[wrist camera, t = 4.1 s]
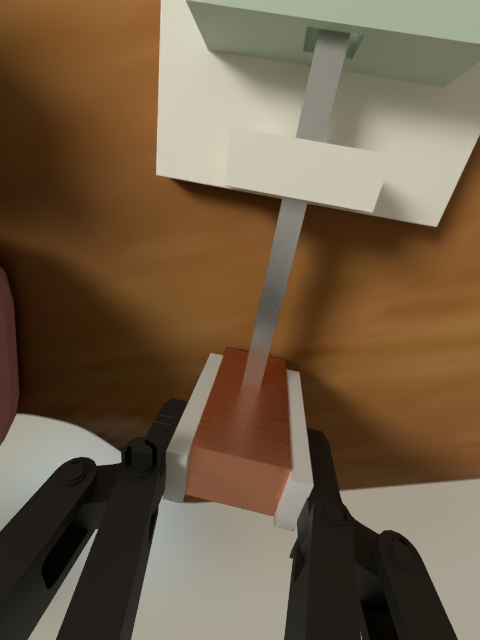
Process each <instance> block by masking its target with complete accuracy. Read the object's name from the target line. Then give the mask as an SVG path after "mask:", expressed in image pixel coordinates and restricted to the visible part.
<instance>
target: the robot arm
mask: <svg viewBox="0 0 480 640" xmlns="http://www.w3.org/2000/svg"><path fill="white" fill-rule="evenodd" d="M222 358H223V356H222V355H218V354H213V353H210V356H209V358H208V360H207V362H206V364H205V367H204V369H203V371H202V373H201V375H200V378H199V380H198V382H197V384H196V386H195V389H194V391H193V393H192V395H191V398H190V400H189V402H186V401H181V400H177V399H171V400H169V401H168V402H167V403H165V404H164V405H163V407H162V409H161V410H160V412H159V414H158V416H157V417H156V419H155V421H154V423H153V424H152V426H151V428H150V430H149V431H148V433H147V435H146V437H138V438H136V439H133V440H131V441H130V442H129V443H127V444H126V445H125V446H124V448H123V449H122V451H121V455H122V456H121V458H122V462H121V463H118V464H113V465H101V466H96V464H95V462H94V461H93V460H92V459H90V458H86V457H79V458H74V459H71V460H69V461H67V462H65V463H64V464H62V465H61V466H60V467H59V468H58V469H57V470H56V471H55V472H54V473H53V474H52V475H51V476H50V477H49V479H48V480H47V481H46V482H45V483H44V484H43V485H42V486H41V488H39V490H38V491H37V492H36V493H35V494H34V495H33V496H32V497H31V498H30V499H29V501H28V502H27V503H26V504H25V505H24V506H23V507H22V508H21V509H20V511H19V512H18V513H17V514H16V515H15V516H14V517H13V518H12V519H11V521H10V522H9V523H8V524H7V525H6V526H5V527H4V528H3V529H2V530H1V531H0V640H28V638H29V636H30V635H31V633H32V631H33V630H34V628H35V626H36V625H37V623H38V622H39V620H40V618H41V617H42V615H43V614H44V612H45V610H46V609H47V607H48V606H49V604H50V602H51V600H52V599H53V597H54V596H55V594H56V593H57V591H58V589H59V588H60V586H61V584H62V583H63V581H64V579H65V578H66V576H67V575H68V573H69V571H70V570H71V568H72V567H73V565H74V563H75V562H76V560H77V559H78V557H79V555H80V554H81V552H82V550H83V549H84V547H85V546H86V544H87V542H88V540H89V539H90V537H91V536H92V534H93V533H94V531H95V529H98V531H97V534H96V536H95V539H94V542H93V544H92V547H91V550H90V552H89V555H88V557H87V560H86V563H85V565H84V568H83V570H82V573H81V576H80V578H79V581H78V583H77V586H76V589H75V591H74V594H73V597H72V599H71V602H70V604H69V607H68V609H67V612H66V615H65V617H64V620H63V622H62V625H61V628H60V630H59V633H58V636H57V638H56V640H131V637H132V632H133V627H134V622H135V618H136V613H137V609H138V604H139V599H140V595H141V590H142V585H143V581H144V576H145V571H146V567H147V562H148V557H149V553H150V548H151V543H152V539H153V534H154V529H155V525H156V520H157V515H158V505H159V503H160V500H161V498H162V495H163V493H164V496H163V499H166V500H170V501H174V502H178V503H182V502H183V499H184V496H185V491H186V482H187V473H188V465H189V456H190V448H191V444H192V441H193V438H194V435H195V433H196V430H197V427H198V424H199V422H200V419H201V416H202V413H203V411H204V408H205V405H206V402H207V400H208V397H209V394H210V391H211V389H212V386H213V383H214V380H215V378H216V375H217V372H218V369H219V366H220V364H221V361H222ZM287 387H288V406H289V425H290V444H291V464H292V471H291V472H290V475H289V477H288V480H287V483H286V485H285V488H284V491H283V493H282V496H281V499H280V501H279V504H278V507H277V509H276V512H275V515H274V526H276V527H279V528H283V529H287V530H291V531H294V529H295V527H296V524H297V530H298V538H297V540H296V542H295V544H294V547H293V548H292V551H291V554H290V558H293V565H292V574H291V583H290V591H289V600H288V610H287V619H286V628H285V637H284V640H361V636H362V640H458V639H457V637H456V634H455V632H454V630H453V628H452V625H451V623H450V621H449V619H448V617H447V614H446V612H445V610H444V607H443V606H442V603H441V601H440V599H439V596H438V594H437V592H436V590H435V587H434V585H433V583H432V581H431V578H430V576H429V574H428V572H427V570H426V567H425V565H424V563H423V561H422V558H421V557H420V555H419V553H418V552H417V550H416V548H415V547H414V546H413V545H412V544H411V543H410V542H409V540H408V539H406V538H405V537H404V536H402V535H401V534H399V533H397V532H394V531H392V530H386V531H383V532H382V533H381V534H380V535H379V534H377V533H376V532H374V531H373V530H371V529H369V528H367V527H366V526H364V525H362V524H361V523H359V522H358V521H357V520H355V519H354V518H353V517H352V516H351V514H350V513H349V511H348V509H347V508H346V506H345V505H344V504H343V503H342V501H341V497H340V493H339V488H338V483H337V478H336V474H335V469H334V464H333V460H332V455H331V450H330V446H329V442H328V440H327V438H326V437H325V435H324V434H323V432H322V431H317V430H313V429H309V428H306V421H305V414H304V406H303V398H302V390H301V382H300V374H299V372H297V371H293V370H288V369H287ZM360 631H361V633H360Z"/></svg>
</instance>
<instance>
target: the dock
mask: <svg viewBox="0 0 480 640" xmlns="http://www.w3.org/2000/svg"><path fill="white" fill-rule="evenodd" d="M319 28H320V29H326V30H333V31H340V32H346V33H351V35H350V39H349V43H348V47H347V51H346V54H345V58H344V62H343V66H342V70H341V74H340V78H339V82H338V86H337V90H336V94H335V98H334V101H333V105H332V109H331V113H330V117H329V121H328V125H327V129H326V133H325V137H324V141H323V142H317V141H311V140H305V139H300V138H295V137H296V133H297V128H298V123H299V119H300V114H301V109H302V105H303V100H304V96H305V91H306V86H307V82H308V77H309V72H310V68H311V63H312V59H313V54H314V49H315V45H316V40H317V35H318V31H319ZM479 135H480V0H161V22H160V57H159V93H158V128H157V164H156V175H159V176H163V177H167V178H172V179H177V180H183V181H188V182H194V183H199V184H204V185H210V186H215V187H220V188H226V189H231V190H237V191H242V192H247V193H253V194H258V195H263V196H269V197H274V198H280V199H282V197H287V198H293V199H298V200H304V201H308V203H307V204H312V205H317V206H323V207H328V208H333V209H339V210H344V211H349V212H355V213H360V214H366V215H371V216H376V217H382V218H387V219H392V220H398V221H403V222H409V223H414V224H419V225H427V226H434V227H437V225H438V223H439V221H440V219H441V217H442V215H443V213H444V210H445V208H446V206H447V204H448V202H449V200H450V197H451V195H452V193H453V191H454V189H455V187H456V185H457V182H458V180H459V178H460V176H461V174H462V172H463V170H464V167H465V165H466V163H467V161H468V159H469V157H470V155H471V152H472V150H473V148H474V146H475V144H476V142H477V139H478V137H479Z"/></svg>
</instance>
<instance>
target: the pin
mask: <svg viewBox="0 0 480 640" xmlns="http://www.w3.org/2000/svg"><path fill="white" fill-rule="evenodd" d="M350 35H351V33H346V32H340V31H333V30H326V29H320V28H319V31H318V35H317V40H316V45H315V49H314V54H313V59H312V63H311V68H310V72H309V77H308V82H307V86H306V91H305V96H304V100H303V105H302V109H301V114H300V119H299V123H298V128H297V133H296V137H295V138H300V139H305V140H311V141H317V142H323V141H324V137H325V133H326V129H327V125H328V121H329V117H330V113H331V109H332V105H333V101H334V98H335V94H336V90H337V86H338V82H339V78H340V74H341V70H342V66H343V62H344V58H345V54H346V51H347V47H348V43H349V39H350ZM307 203H308V201H304V200H298V199H293V198H287V197H282V202H281V207H280V211H279V216H278V220H277V225H276V230H275V234H274V239H273V244H272V248H271V253H270V257H269V262H268V267H267V271H266V276H265V280H264V285H263V290H262V294H261V299H260V304H259V308H258V313H257V317H256V322H255V327H254V331H253V336H252V341H251V345H250V350H249V352H247V351H243V350H238V349H234V348H229V347H226V350H225V353H224V355H223V358H222V361H221V364H220V366H219V369H218V372H217V375H216V378H215V380H214V383H213V386H212V389H211V391H210V394H209V397H208V400H207V402H206V405H205V408H204V411H203V413H202V416H201V419H200V422H199V424H198V427H197V430H196V433H195V435H194V438H193V441H192V444H191V448H190V456H189V465H188V473H187V482H186V491H185V494H186V495H190V496H194V497H198V498H202V499H206V500H210V501H214V502H218V503H222V504H226V505H230V506H234V507H238V508H242V509H246V510H250V511H254V512H258V513H262V514H266V515H270V516H274V515H275V512H276V509H277V507H278V504H279V501H280V499H281V496H282V493H283V491H284V488H285V485H286V483H287V480H288V477H289V475H290V472H291V471H292V464H291V444H290V425H289V406H288V387H287V367H286V360H284V359H279V358H275V357H270V356H269V352H270V348H271V344H272V340H273V336H274V332H275V328H276V324H277V320H278V317H279V313H280V309H281V305H282V301H283V297H284V293H285V289H286V285H287V281H288V277H289V274H290V270H291V266H292V262H293V258H294V254H295V250H296V246H297V242H298V238H299V234H300V231H301V227H302V223H303V219H304V215H305V211H306V207H307Z"/></svg>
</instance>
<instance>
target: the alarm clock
mask: <svg viewBox="0 0 480 640" xmlns="http://www.w3.org/2000/svg"><path fill="white" fill-rule="evenodd" d="M18 398H19V379H18V363H17V346H16V330H15V313H14V300H13V296H12V293H11V290H10V286H9V283H8V279H7V276H6V272H5V271H4V270H3V269H2V268H1V267H0V445H1V443H2V442H3V441H4V439H5V437H6V435H7V433H8V431H9V428H10V426H11V424H12V422H13V420H14V418H15V416H16V411H17V405H18Z"/></svg>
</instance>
